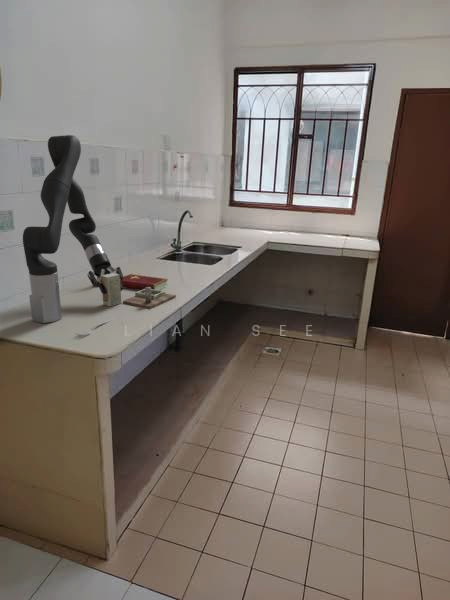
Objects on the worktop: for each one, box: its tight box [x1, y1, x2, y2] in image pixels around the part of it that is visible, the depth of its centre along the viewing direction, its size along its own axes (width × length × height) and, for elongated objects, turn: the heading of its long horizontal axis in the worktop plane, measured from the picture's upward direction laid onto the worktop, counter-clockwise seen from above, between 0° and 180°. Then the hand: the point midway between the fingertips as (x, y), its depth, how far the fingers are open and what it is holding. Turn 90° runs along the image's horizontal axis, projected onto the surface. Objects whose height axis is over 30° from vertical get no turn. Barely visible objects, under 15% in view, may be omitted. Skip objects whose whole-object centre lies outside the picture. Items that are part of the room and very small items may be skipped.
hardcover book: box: [121, 273, 168, 291], centre depth 198 cm, size 12×21×4 cm, turn 67°
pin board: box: [122, 287, 177, 309], centre depth 177 cm, size 18×14×7 cm
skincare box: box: [101, 272, 123, 307], centre depth 170 cm, size 6×4×12 cm
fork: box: [74, 317, 116, 336], centre depth 148 cm, size 3×24×2 cm, turn 162°
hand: (113, 291), depth 169 cm, fingers closed on skincare box, 6 cm apart
